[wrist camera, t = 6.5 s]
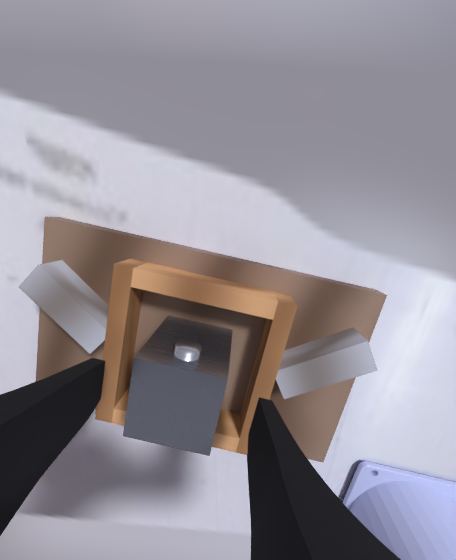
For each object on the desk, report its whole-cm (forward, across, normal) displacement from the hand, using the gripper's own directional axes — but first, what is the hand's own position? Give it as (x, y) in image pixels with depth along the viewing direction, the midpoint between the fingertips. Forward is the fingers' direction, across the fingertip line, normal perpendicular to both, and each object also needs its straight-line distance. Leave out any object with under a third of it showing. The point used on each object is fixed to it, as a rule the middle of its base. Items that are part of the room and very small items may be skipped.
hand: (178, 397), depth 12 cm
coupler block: (+4, 0, 0) cm, 4 cm away
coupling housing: (+6, 0, 0) cm, 6 cm away
